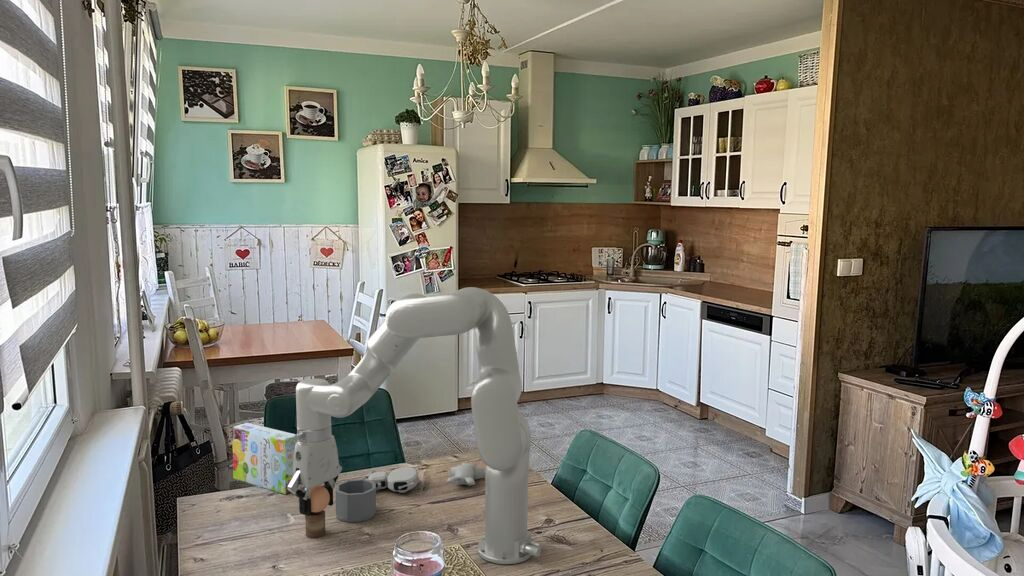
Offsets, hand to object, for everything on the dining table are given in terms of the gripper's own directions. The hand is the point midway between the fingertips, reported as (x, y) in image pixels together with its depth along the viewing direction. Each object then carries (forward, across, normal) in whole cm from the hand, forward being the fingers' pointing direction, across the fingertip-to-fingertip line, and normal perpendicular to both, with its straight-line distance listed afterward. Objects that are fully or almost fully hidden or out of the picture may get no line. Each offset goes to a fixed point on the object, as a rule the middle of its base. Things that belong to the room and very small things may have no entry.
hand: (316, 508), depth 164 cm
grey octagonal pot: (+6, +13, 0) cm, 14 cm away
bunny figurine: (+7, +44, -10) cm, 46 cm away
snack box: (+6, +13, +34) cm, 37 cm away
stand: (+6, 0, 0) cm, 6 cm away
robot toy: (+7, +30, +4) cm, 31 cm away
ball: (-2, 0, 0) cm, 2 cm away
